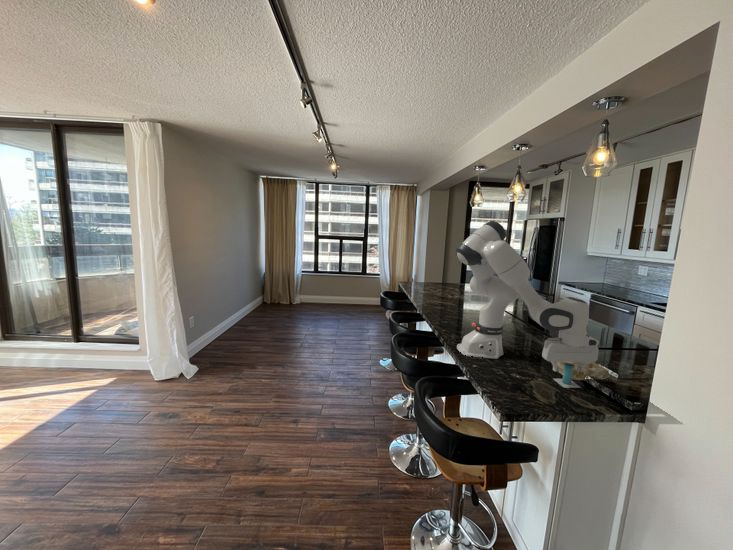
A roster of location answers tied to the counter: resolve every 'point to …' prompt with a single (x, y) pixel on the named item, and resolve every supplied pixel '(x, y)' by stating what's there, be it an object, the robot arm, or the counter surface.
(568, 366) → the plug
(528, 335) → the counter surface
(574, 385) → the deck
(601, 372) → the socket block
